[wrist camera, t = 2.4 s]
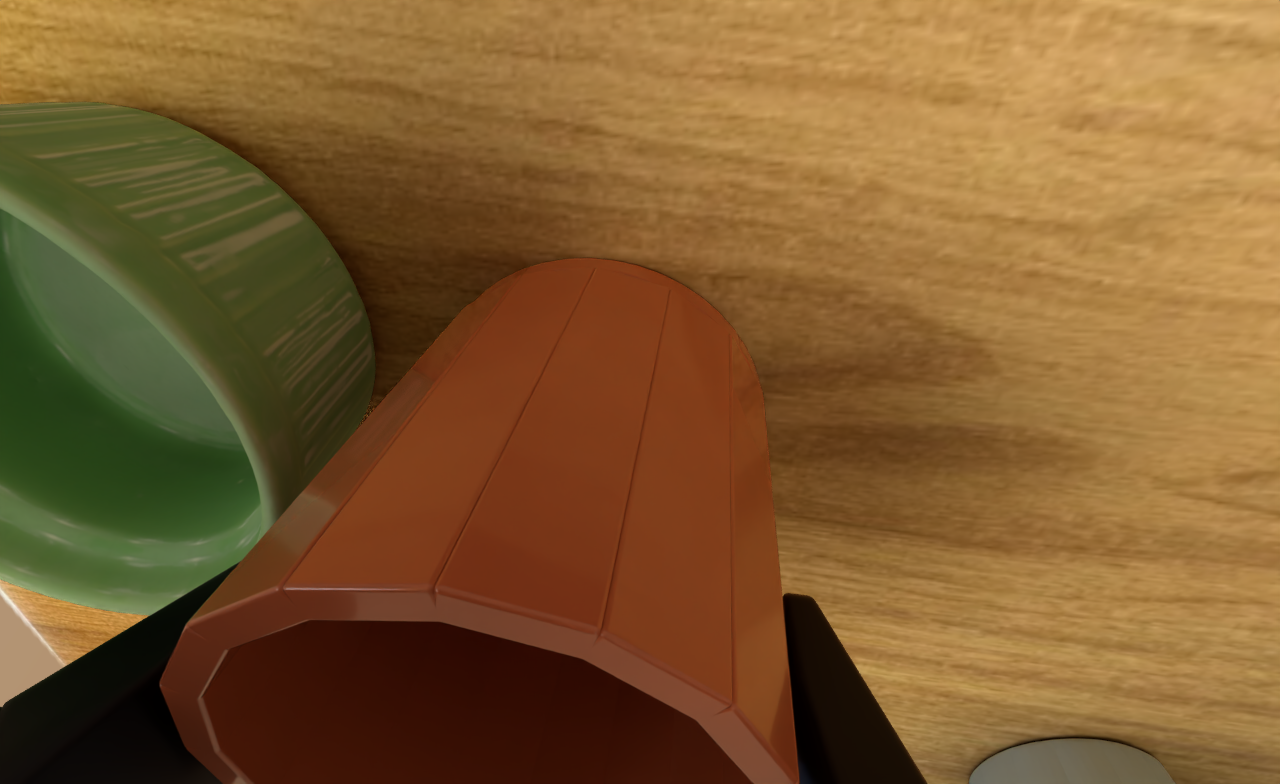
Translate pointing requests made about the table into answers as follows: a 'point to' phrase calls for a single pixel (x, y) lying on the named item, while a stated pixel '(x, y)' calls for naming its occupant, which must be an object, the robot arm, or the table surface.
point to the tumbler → (519, 565)
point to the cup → (1071, 764)
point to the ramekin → (158, 355)
